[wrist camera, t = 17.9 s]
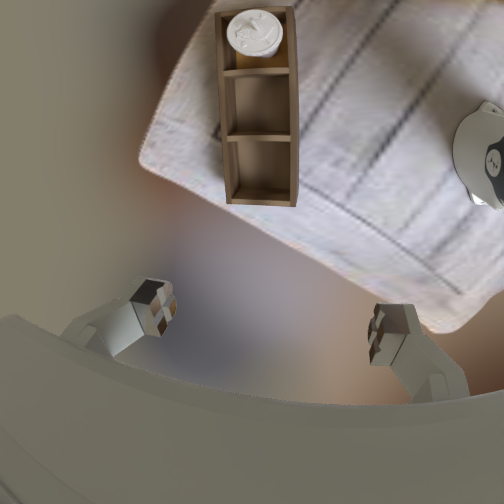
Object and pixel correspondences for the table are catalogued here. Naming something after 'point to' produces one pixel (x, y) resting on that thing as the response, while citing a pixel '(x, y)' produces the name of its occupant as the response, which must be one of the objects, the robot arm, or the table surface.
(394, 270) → the table surface
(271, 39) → the smoothie
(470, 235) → the table surface
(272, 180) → the caddy
